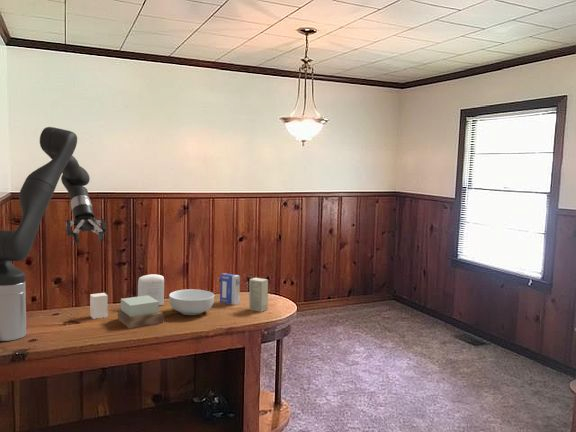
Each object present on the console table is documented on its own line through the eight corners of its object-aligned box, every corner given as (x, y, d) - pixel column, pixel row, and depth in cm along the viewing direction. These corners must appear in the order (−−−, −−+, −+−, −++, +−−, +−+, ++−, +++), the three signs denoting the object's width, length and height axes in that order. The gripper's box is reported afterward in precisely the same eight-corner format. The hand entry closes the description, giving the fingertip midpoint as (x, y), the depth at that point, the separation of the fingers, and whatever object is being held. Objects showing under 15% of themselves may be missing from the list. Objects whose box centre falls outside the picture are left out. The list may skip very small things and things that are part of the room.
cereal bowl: (198, 321, 174) (198, 302, 174) (159, 315, 180) (159, 296, 180) (222, 309, 190) (222, 292, 189) (185, 304, 196) (185, 286, 195)
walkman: (219, 302, 201) (220, 273, 200) (223, 300, 203) (224, 272, 202) (235, 305, 197) (236, 275, 196) (239, 303, 199) (240, 274, 198)
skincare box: (267, 309, 192) (268, 279, 191) (261, 312, 188) (262, 281, 187) (254, 307, 195) (255, 277, 194) (248, 309, 192) (249, 278, 190)
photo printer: (161, 302, 197) (162, 272, 196) (165, 305, 193) (165, 274, 192) (136, 305, 191) (136, 274, 190) (139, 308, 188) (139, 276, 186)
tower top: (130, 317, 165) (130, 305, 165) (120, 309, 173) (120, 298, 173) (158, 312, 171) (158, 301, 171) (148, 305, 179) (148, 295, 179)
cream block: (93, 319, 173) (93, 296, 172) (90, 316, 176) (90, 294, 175) (107, 317, 176) (107, 295, 175) (104, 314, 179) (104, 292, 178)
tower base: (128, 329, 164) (128, 318, 164) (118, 320, 174) (118, 309, 174) (163, 324, 171) (163, 313, 171) (151, 315, 181) (151, 305, 181)
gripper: (64, 203, 186) (70, 237, 178) (102, 203, 194) (110, 235, 186) (61, 215, 191) (67, 249, 183) (99, 215, 199) (107, 247, 191)
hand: (89, 242), depth 185 cm, fingers open, 8 cm apart
